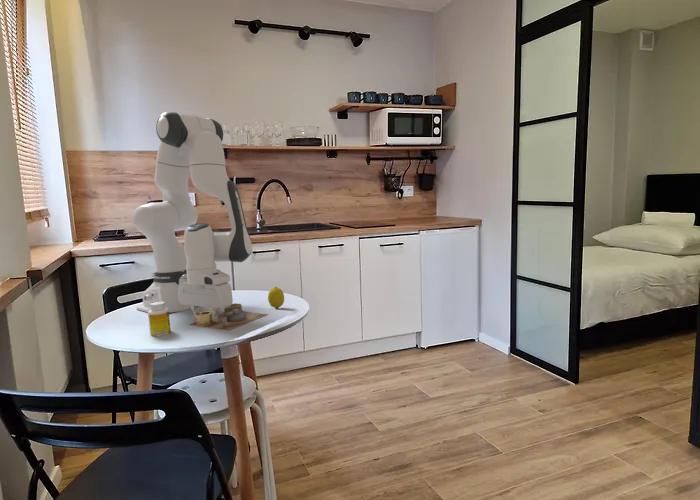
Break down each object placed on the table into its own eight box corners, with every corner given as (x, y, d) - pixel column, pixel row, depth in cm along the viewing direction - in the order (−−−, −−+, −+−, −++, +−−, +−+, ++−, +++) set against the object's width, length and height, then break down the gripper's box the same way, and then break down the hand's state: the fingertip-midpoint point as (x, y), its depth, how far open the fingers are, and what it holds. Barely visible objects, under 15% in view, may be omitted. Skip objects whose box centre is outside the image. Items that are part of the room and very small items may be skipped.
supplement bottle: (172, 337, 133) (169, 303, 132) (152, 341, 131) (148, 306, 129) (169, 332, 138) (165, 299, 137) (149, 336, 135) (145, 302, 134)
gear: (193, 324, 142) (192, 314, 141) (206, 319, 147) (205, 310, 146) (206, 325, 139) (205, 316, 139) (219, 320, 144) (218, 311, 144)
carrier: (188, 328, 141) (187, 315, 141) (230, 313, 157) (228, 301, 156) (229, 334, 133) (228, 320, 133) (269, 317, 149) (268, 305, 148)
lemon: (281, 311, 156) (280, 288, 155) (266, 311, 157) (264, 288, 156) (287, 307, 162) (285, 284, 161) (272, 307, 163) (270, 285, 162)
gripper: (170, 276, 143) (175, 319, 145) (218, 280, 133) (223, 326, 135) (186, 273, 149) (190, 314, 151) (233, 276, 139) (237, 320, 141)
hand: (206, 319), depth 143 cm, fingers closed on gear, 5 cm apart
